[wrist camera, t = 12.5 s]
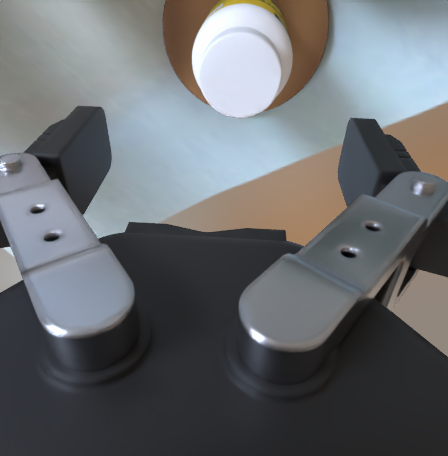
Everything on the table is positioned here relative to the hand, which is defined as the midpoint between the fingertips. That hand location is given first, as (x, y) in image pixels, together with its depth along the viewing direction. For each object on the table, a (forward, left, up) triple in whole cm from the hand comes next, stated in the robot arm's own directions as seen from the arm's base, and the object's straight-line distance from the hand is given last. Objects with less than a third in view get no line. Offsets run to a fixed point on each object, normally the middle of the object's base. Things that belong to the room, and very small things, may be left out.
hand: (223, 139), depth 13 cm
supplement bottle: (0, 0, -17) cm, 17 cm away
